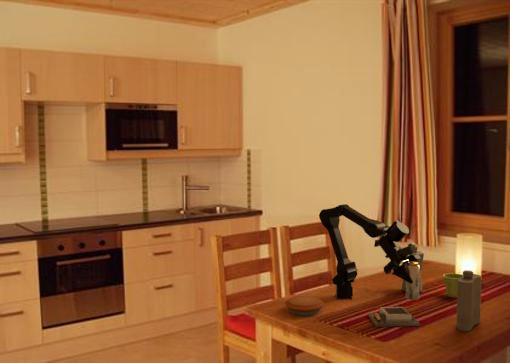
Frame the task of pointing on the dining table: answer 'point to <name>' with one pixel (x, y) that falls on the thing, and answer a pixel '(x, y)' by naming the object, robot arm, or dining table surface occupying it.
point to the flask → (468, 301)
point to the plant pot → (451, 284)
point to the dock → (393, 317)
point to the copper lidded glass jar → (414, 273)
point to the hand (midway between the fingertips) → (415, 281)
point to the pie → (304, 305)
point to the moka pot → (420, 272)
